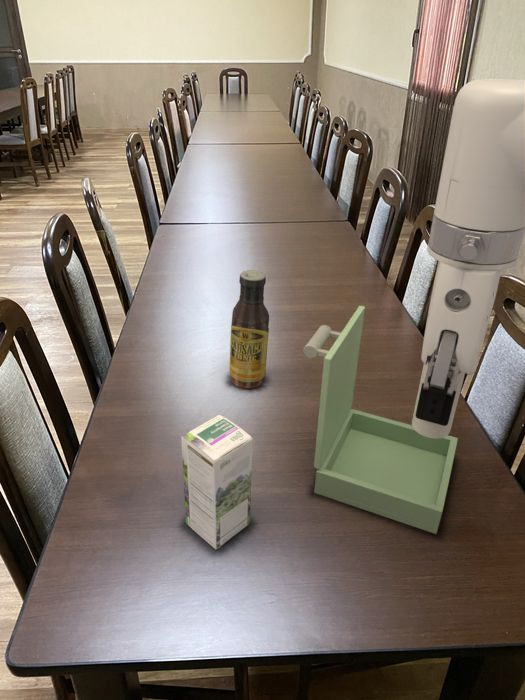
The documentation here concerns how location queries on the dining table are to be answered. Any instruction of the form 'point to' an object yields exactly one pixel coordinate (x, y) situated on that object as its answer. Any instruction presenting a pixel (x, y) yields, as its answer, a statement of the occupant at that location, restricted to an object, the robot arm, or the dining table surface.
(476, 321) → the robot arm
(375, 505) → the green open lid box
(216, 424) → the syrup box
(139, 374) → the dining table surface
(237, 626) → the dining table surface
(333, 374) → the green box lid
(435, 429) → the cylinder
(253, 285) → the sauce bottle
